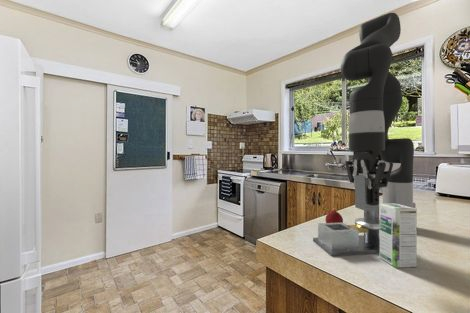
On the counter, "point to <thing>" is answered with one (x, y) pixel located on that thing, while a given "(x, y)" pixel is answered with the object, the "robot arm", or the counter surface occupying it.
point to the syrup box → (398, 235)
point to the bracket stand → (351, 236)
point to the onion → (334, 217)
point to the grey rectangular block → (363, 194)
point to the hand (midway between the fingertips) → (366, 202)
